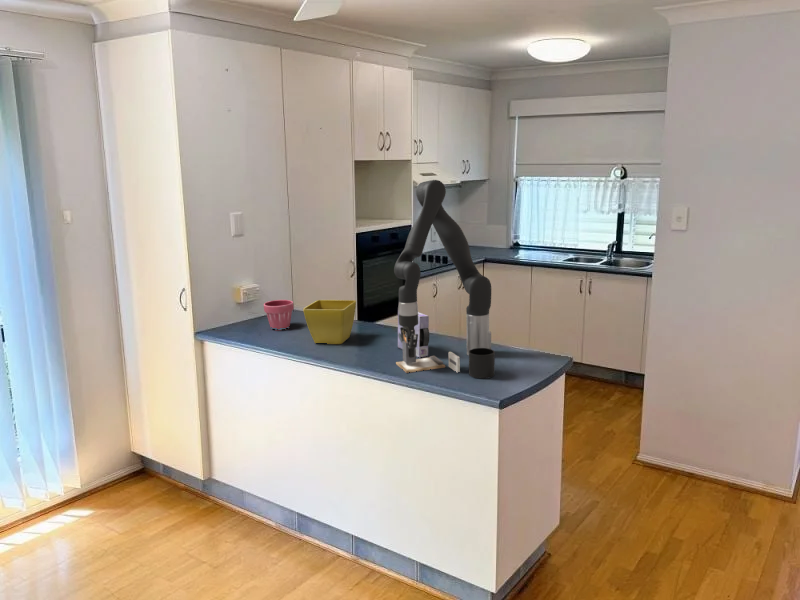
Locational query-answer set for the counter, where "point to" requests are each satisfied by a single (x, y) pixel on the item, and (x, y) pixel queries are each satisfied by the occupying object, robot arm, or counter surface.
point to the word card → (454, 362)
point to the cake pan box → (422, 335)
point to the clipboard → (421, 364)
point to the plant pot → (279, 313)
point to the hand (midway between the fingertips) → (409, 355)
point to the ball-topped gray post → (406, 353)
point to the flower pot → (330, 320)
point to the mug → (481, 363)
